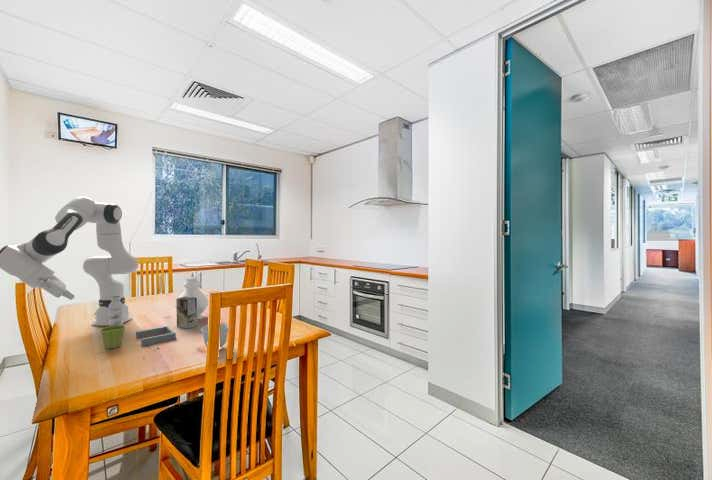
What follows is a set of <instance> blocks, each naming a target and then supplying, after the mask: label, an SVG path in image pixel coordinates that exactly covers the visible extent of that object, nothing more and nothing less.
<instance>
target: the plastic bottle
mask: <svg viewBox="0 0 712 480" xmlns="http://www.w3.org/2000/svg"><path fill="white" fill-rule="evenodd" d="M120 300H121V299H120V296H113V297H111V301H112V302H111V303H110V304H109V306H108V312H109V318H110V322H109V325H108V327H109V326H116V325H124V322H123V317H122V316H123V308H124V306H123V304H122V303H121V302H120ZM124 333H125V330H124V331H123V334H124Z"/></svg>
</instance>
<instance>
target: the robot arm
mask: <svg viewBox="0 0 712 480" xmlns="http://www.w3.org/2000/svg"><path fill="white" fill-rule="evenodd" d="M122 215H123V212H122V208H120V206H119V205H118V204H115V203H107V202H100V201H99V202H97V201H94V200H93V199H91V198H90V197H86V196H78V197H76V198H73V199H72V200H70V201H69V202H68V203H66V204H65V205H64V206H62V208H60V210H59V211H57V213H56V215H55V217H54V219H55V222H56V223H55V225H54V226H53V227H52V228H49V229H46V230H43V231H41V232H39V233H38V234H37V235H36V236H34V237H33V238H32V239H31V240H29V241H28V242H25V243H20V244H15V245H11V244H10V245H9V244H7V245H4V246H3V247H2V248H1V249H0V269H1V270H2V271H3V272H5V273H7V274H9V275H10V276H13V277H16V278H17V279H19V280H20V282H22V283H23V284H25V285H27V286H29V287H30V288H32V289H36V288H39V289H41V290H42V289H43V290H44V291H45V292H47V293H48V294H50V295H52V296H53V297H55V298H60V297H61V296H62V297H65V298H67V299H69V300H73V299H74V298H75V295H74V294H73V293H71V292H70V291H69V290H68V289H67V284H65V283H64V282H63V281H62V280H61V279H59V277H57V276H55V275H54V274H55V271H54V270H52V269H51V268H50V267H48V266H46V265H45V264H44V263H46V262H47V261H49V260H50V259H51V258H53V257H55V256H56V255H58V254H60V253H61V252H63V251H65V249H66V248H67V247H68V242H69V237H70V236H71V235H72V233H74V232H75V231H78V230H79V229H81V228H83V226H85V225H86V224H87V223H90V224H91V223H92V224H96V226H95V227H96V228H95V233H96V241H97V242H96V243H97V247H98V248H100V249H101V250H103V251H104V252H105V251H106V252H108V253H109V255H95V256H89V257H87V258H86V259H85V260H84V261H83V264H82V269H83V271H84V273H86V274H87V275H89V276H91V277H92V278H93V279H94V280H95V282H96V283H97V285H98V290H99V299H98V306H99V307H98V308H97V309H95V311H94V315H93V316H95V317H94V320H93V321H92V322H91V324H90V325H91V326H92V327H93V326H102V327H103V326H105V327H107V326H109V322H110V318H109V312H108V306H109V304H110V303H111V302H112V301H111V297H113V296H120V299H121V300H120V302H121V303H122V304H123V306H124V308H123V316H122V317H123V323H126V322H129V321H132V320H133V317H132V316H129V306H128V305H127V304H126V297H125V285H124V283H123V282H121V281H119V280H117V279H115V278H114V277H113V276H114V275H127V274H128V275H129V274H132V273H135V272H136V271H137V270H138V268H139V265H140V264H139V260H138V258H136V257H135V256H133V255H132V254H130V253H129V252H128V251H127V250H126V248H125V246H124V243H123V238H122V229H121V228H122V227H121V222H120V220H121V219H122ZM112 275H113V276H112Z"/></svg>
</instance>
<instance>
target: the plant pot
mask: <svg viewBox="0 0 712 480" xmlns="http://www.w3.org/2000/svg"><path fill="white" fill-rule="evenodd" d="M125 328H126V326H125V325H124V324H123V325H116V326H109V325H108V326H105V327H103V328H100V329H99V332H100V334H101V337H102V340H103V346H104V349H106V350H109V349H111V350H112V349H115V348H119V347H121V346H122V344H123V338H124V337H123V335H124V333H123V331H124V332H125Z"/></svg>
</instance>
